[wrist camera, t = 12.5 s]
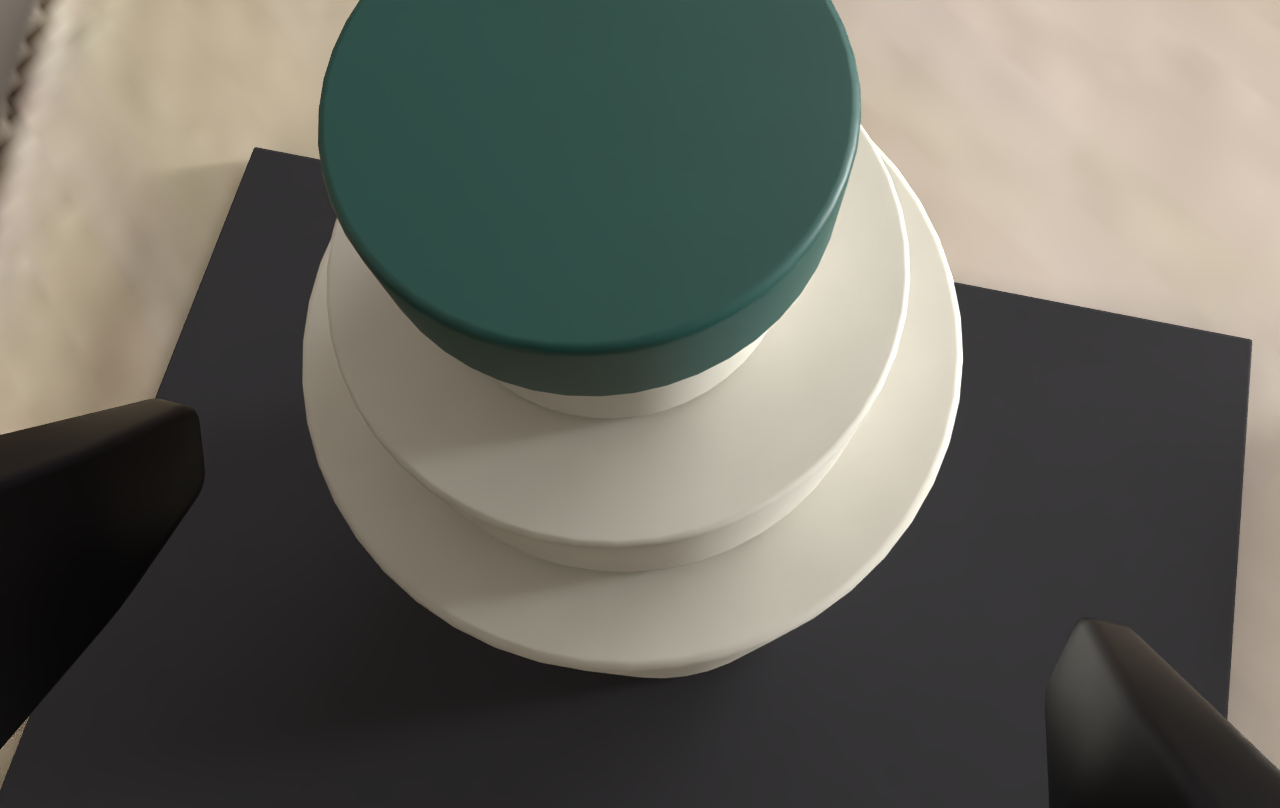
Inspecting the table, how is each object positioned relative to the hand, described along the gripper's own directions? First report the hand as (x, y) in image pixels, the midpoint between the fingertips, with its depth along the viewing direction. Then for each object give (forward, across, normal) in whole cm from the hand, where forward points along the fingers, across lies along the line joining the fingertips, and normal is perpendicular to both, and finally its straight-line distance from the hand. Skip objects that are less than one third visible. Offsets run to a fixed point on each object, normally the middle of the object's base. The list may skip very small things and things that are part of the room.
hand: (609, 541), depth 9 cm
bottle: (+7, 0, +4) cm, 8 cm away
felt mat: (+6, 0, +6) cm, 8 cm away
